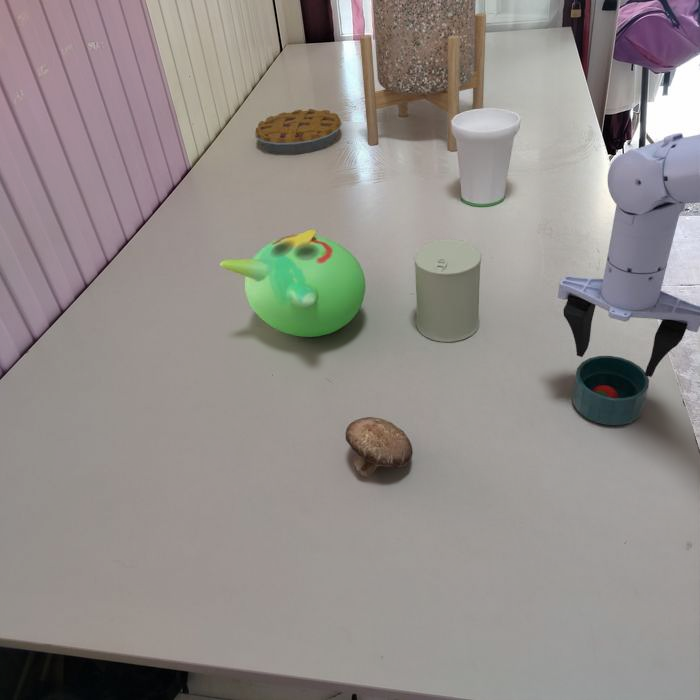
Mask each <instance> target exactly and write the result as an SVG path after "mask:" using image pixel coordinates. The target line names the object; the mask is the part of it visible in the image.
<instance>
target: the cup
mask: <svg viewBox="0 0 700 700" xmlns="http://www.w3.org/2000/svg"><path fill="white" fill-rule="evenodd" d="M521 121H522V119H521V117H520V115H519V113H517V112H515V111H512V110H509V109H504V108H494V107H491V108H490V107H483V109H473V108H472V109H470V110H465V111H461V112H459V114H458V115H456V116H455V117H454V118H453V119H452V120H451V130H452V134H453V135H454V137H455V138H456V144H457V151H456V153H457V162H458V163H457V164H458V170H459V171H458V173H459V184H460V198H461V201H462V202H463V203H464V204H466V205H468V206H472V207H480V208H482V207H483V208H484V207H492V206H496V205H499V204H500V203H502V202H503V201H504V199H505V198H506V187H507V180H508V175H509V169H510V164H511V163H510V162H511V157H512V151H513V147H514V146H513V145H514V141H515V137H516V136H517V134H518V132H519V131H520V129H521Z"/></svg>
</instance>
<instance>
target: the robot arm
mask: <svg viewBox="0 0 700 700" xmlns="http://www.w3.org/2000/svg"><path fill="white" fill-rule="evenodd" d="M607 188H608V192H609V194H610V195H609V196H610V197H611V199H612V201H613V203H614V204H616V205H615V210H614V215H613V222H612V229H611V234H610V239H609V246H608V251H607V255H606V256H607V257H606V260H605V261H606V262H605V268H604V273H603V278H594V277H593V278H592V277H576V276H570V275H565V276H563V278H562V279H561V281H560V282H559V285H558V291H557V292H558V293H557V298H558V299H561V300H566V303H565V305H564V307H563V310H562V311H563V317H564V318H565V320H566V321H567V324H568V325H569V327H570V329H571V332H572V335H573V340H574V343H575V350H576V351H575V352H576V356H577V357H580V358H583V357H584V355H585V353H586V352H587V350H588V348H589V346H590V341H591V333H592V324H593V323H592V322H593V319H594V318H593V317H594V314H595V309H596V307H599V308H600V309H603V310H605V311H607V312H608V317H609V318H610V319H614V320H617V321H621V322H628V321H630V319H631V318H637V319H650V320H651V319H652V320H660V321H661V322H660V324H659V326H658V328H657V331H656V332H655V334H654V339H653V340H654V341H653V345H652V350H651V355H650V358H649V361H648V363H647V366H646V369H645V376H647V377H648V378H652V377H653V375H654V373H655V370H657V369H656V368H657V367H658V365H659V363H661V361H662V360H663V358H665V356H666V355H668V353H669V352H671V351H672V350H673V349H674V348H676V347H677V346H678V345H679V343H681V341H682V340H683V338H684V335H685V333H686V331H690V332H693V333H698V332H699V330H700V305H697V304H694V303H691V302H689V301H686V300H684V299H681V298H679V297H677V296H674V295H673V294H670V293H667V292H665V291H662V287H663V283H664V279H665V275H666V272H667V266H668V261H669V259H670V254H671V250H672V246H673V241H674V238H675V233H676V229H677V226H678V221H679V217H680V214H682V213H683V212H684V211H685V207H686V204H699V203H700V134H695V135H690V136H686V137H684V135H683V133H682V132H678V133H673V134H670V135H667V136H665V137H663V139H662V140H659V141H655V142H652V143H650V144H646V145H644V146H641V147H637V148H635V149H634V148H632V149H629V150H627V151H626V152H624V153H622V154H619V155H618V156H616V157H615V159H613V160H612V161H611V164H610V166H609V168H608V173H607Z"/></svg>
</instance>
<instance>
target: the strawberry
mask: <svg viewBox="0 0 700 700" xmlns="http://www.w3.org/2000/svg"><path fill="white" fill-rule="evenodd" d="M592 391H593V392H594V393H597V394H599V395H602V396H605V397H611V398H618V394H617V392H616V391H615V390H614V389H613V388H612V387H610V386H607V385H600V386H597V387H595V388H594V389H593V390H592Z"/></svg>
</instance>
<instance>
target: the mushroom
mask: <svg viewBox="0 0 700 700" xmlns="http://www.w3.org/2000/svg"><path fill="white" fill-rule="evenodd" d="M345 440H346V443H347V444H348V445H349V446H350V447H351V449H352V450H353V451H354V452H355V453H356V455H355V457H354V459H353V465H354V467H355V470H356V471H357V472H358V473H359V475H361V476H362V477H364V478H371V477H372V475H373V474H374V473H375V471H376V470H377V468H378V467H388V468H400V467H405V466H406V465H408V464H409V462H410V461H411V459H412V458H413V453H414V452H413V446H412V445H413V444H412V443H411V440H410V439H409V437H408V436H407V434H406V433H405V432H404V430H402V428H400V427H398V426H397V425H395V424H394V423H393V422H390V421H388V420H386V419H383V418H380V417H373V416H366V417H361V418H359V419H356V420H353V421H352V422H350V424H348V426H347V427H346V430H345Z"/></svg>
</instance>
